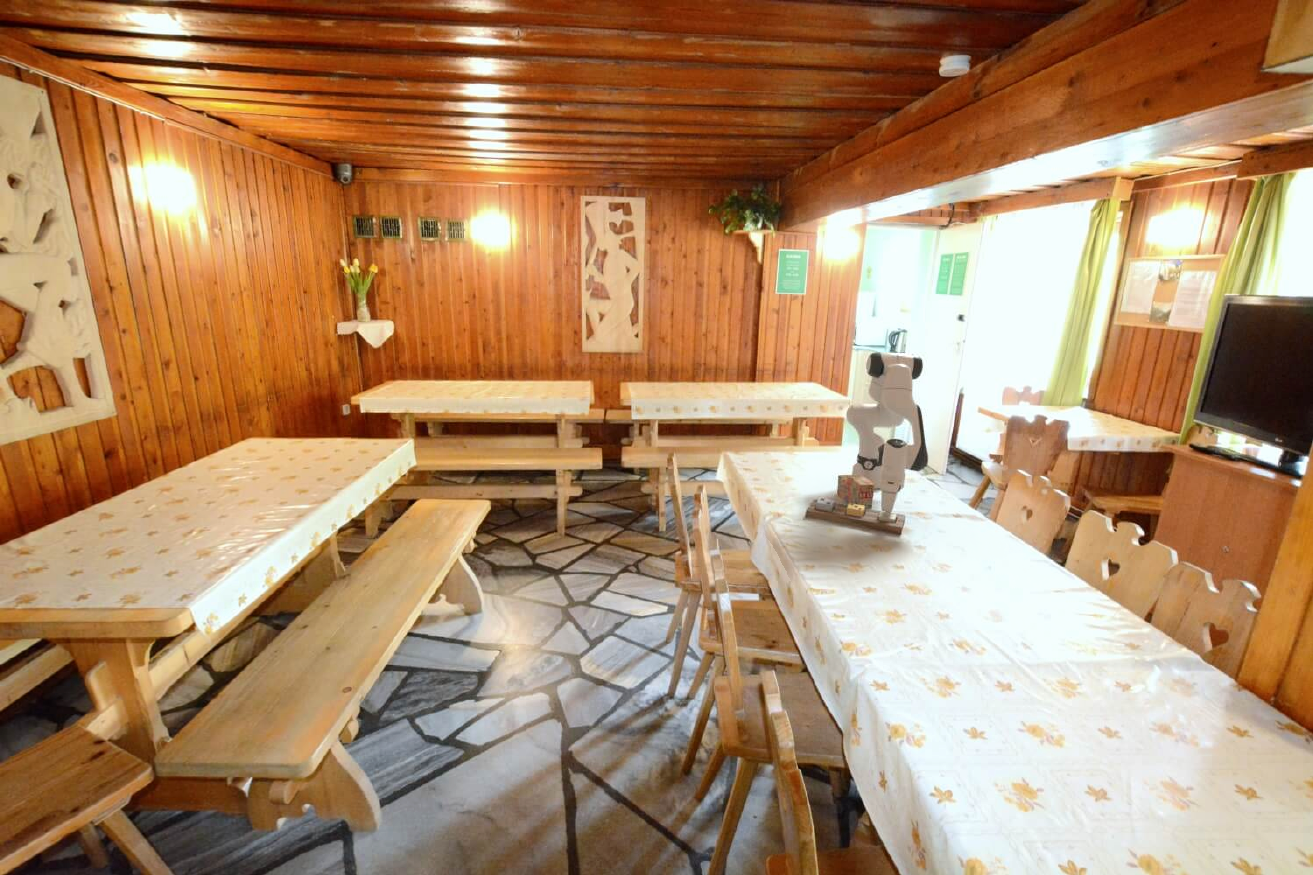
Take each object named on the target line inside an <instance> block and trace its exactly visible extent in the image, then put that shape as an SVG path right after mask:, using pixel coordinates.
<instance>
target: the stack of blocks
mask: <svg viewBox="0 0 1313 875" xmlns="http://www.w3.org/2000/svg"><path fill="white" fill-rule="evenodd" d="M836 488H837V489H836V495H837V496H838V497H839V498H840V499H842V500H843V501H844V502H845V503H846V504H847V505H849V503H852V504H857V505H863V506H865V508H866V509H872V507H873V498H874V491H875V489H874V484H873V483H872V482H871V481H870V480H868V479H866V478H865V477H863V476H862V475H852V474H838V476H837V487H836Z"/></svg>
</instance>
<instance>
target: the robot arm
mask: <svg viewBox="0 0 1313 875" xmlns="http://www.w3.org/2000/svg"><path fill="white" fill-rule="evenodd" d="M865 367H866V368H865V369H866V372H867V374H868V376H870V377H871V380H870V384H869V389H868V395H869V397H870V398H871V399H872V400H874V401H875V402H876V403H864V402H861V403H855V404H854V403H853V404H851V405H850V406H849V407H847V411H846V413H845V416H846V421H848V424H850V425H851V426H852V427H853V428H854V430H855V432H857V434H858V440H859V442H858V443H859V444H858V454H857V456H856V463H854V464H853V465H852V471H851V475H862V476H863V477H865V478H866V479H868V480H870V481H871V482H872V483H873V484H874V490H877V489H879V490H880V492H881V500H880V501H881V502H880V503H881V507H880V508H881V511H883V512H886V513H885V516H888V517H890V515H891V513H893V509H894V506H895V503H896V500H897V498H898V494H899V493H900V492H901V490H902V489H904V488H905V481H906V470H908V471H909V470H910V471H914V472H920V471H922V470H924V469H925V468H927V467H928V464H929V453H928V449H927V444H926V436H925V426H924V421H923V413H922V411H921V410H922V409H921V407H920V405H918V404H917V403H916V402H915V400H914V398H913V380H917V379H918V378H919V377H921V374H922V372H923V370H924V363H923V359H922V358H921V356H919V355H916V354H912V353H911V354H910V353H909V354H908V353H905V352H904V353H903V352H881V351H879V352H872V353H871V354H870V355H869V356H868V358H867V360H866V363H865ZM905 420H906V421H908V422H909V424H910V426H911V431H912V438H913V444H907V442H906V441H905V440H902V439H899V438H891V439H888V440H886V442H885V439H884V438H883V437H882V436H881V435H879V434H877V432H874V431H875V430H874V428H884V429H885V428H895V427H901V425H902V424H903V423H904V421H905Z"/></svg>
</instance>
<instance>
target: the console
mask: <svg viewBox="0 0 1313 875" xmlns="http://www.w3.org/2000/svg"><path fill="white" fill-rule="evenodd" d="M818 500H819V499H813V500H812V502H811V503H810V504H809V506H808V507H807V508H806V512H805V518H808V519H814V520H820V521H823V522H824V521H826V522H829V523H830V522H831V523H835V524H840V525H846V526H852V527H857V528H862V529H867V530H873V531H877V532H878V531H879V532H884V533H889V534H895V535H902V534H903V533H902V532H903V530H904V526H905V521H906V514H899V513H895V512H891V514H897V516H896V523H892V522H887V521H881V520H878V517H879V514H880V512H884V511H882V510H877V509H872V508H871V509H866V508H865V511H864V516H863V517H859V516H853V515H848V514H846V513H847V507H848V505H849V504H843V503H837V502H834V509H833V511H832V512H831V511H826V510H820V509H816V503H817V501H818Z"/></svg>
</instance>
